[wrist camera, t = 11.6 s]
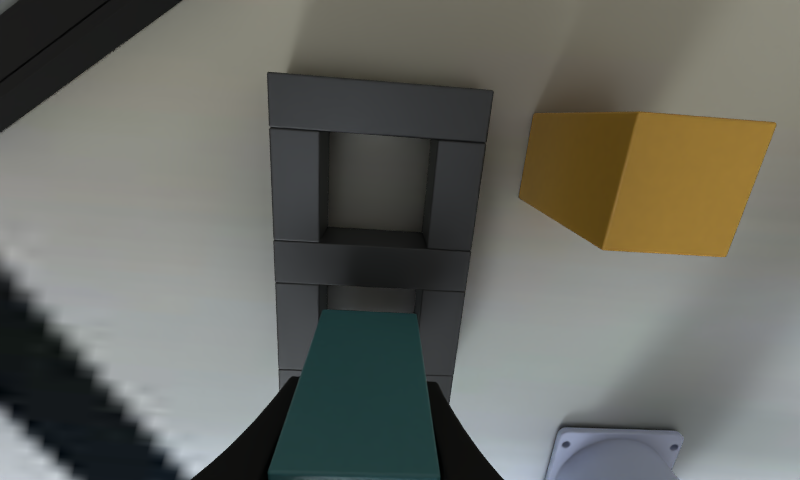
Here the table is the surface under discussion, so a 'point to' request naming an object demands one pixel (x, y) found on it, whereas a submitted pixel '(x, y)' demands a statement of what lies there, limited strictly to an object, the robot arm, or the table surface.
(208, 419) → the table surface
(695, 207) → the ochre peg
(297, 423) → the teal peg
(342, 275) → the holder
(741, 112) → the table surface
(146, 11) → the vhs tape
